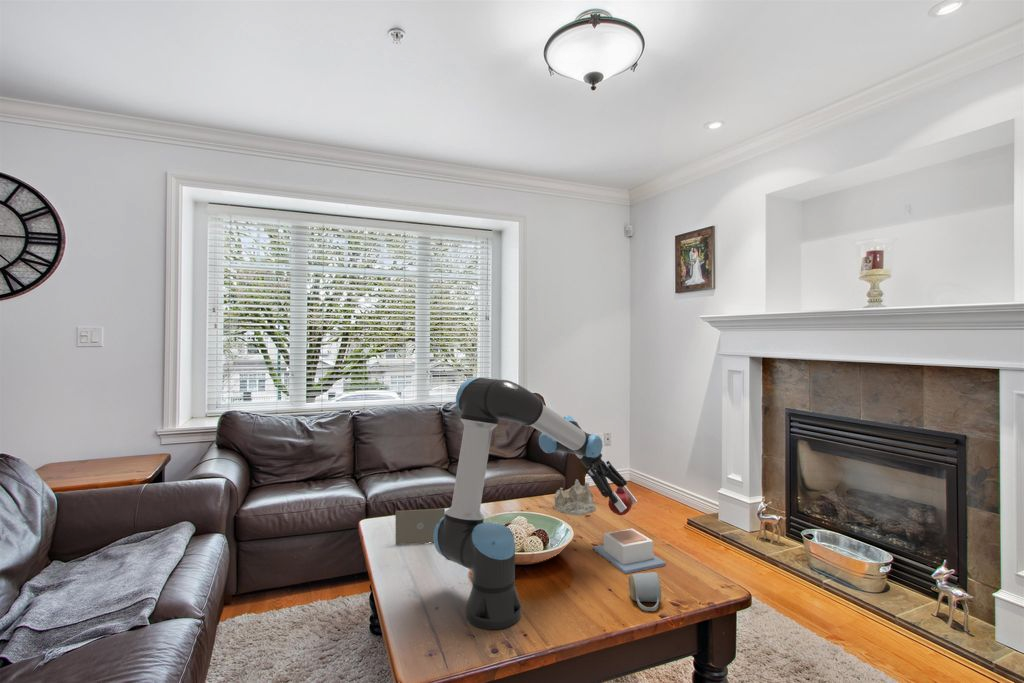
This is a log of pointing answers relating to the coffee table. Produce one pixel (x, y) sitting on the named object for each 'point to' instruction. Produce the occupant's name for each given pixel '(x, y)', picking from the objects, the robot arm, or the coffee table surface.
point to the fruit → (624, 498)
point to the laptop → (417, 525)
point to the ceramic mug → (645, 589)
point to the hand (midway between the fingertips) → (629, 506)
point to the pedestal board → (632, 565)
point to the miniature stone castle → (575, 500)
